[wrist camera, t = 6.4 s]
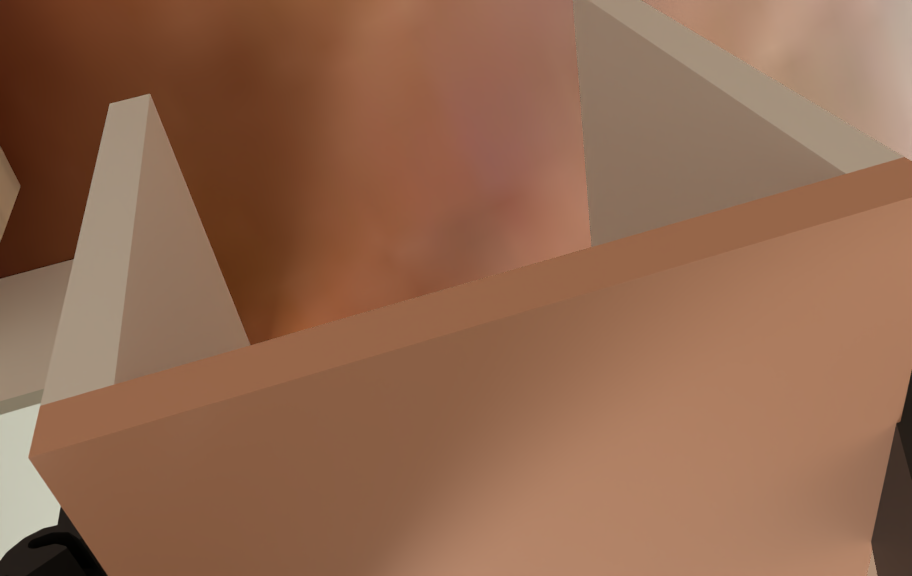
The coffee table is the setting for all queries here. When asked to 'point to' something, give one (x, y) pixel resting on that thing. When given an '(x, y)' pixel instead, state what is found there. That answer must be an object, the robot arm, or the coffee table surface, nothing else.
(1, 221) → the block
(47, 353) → the pale green cube
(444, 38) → the coffee table surface
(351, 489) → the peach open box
